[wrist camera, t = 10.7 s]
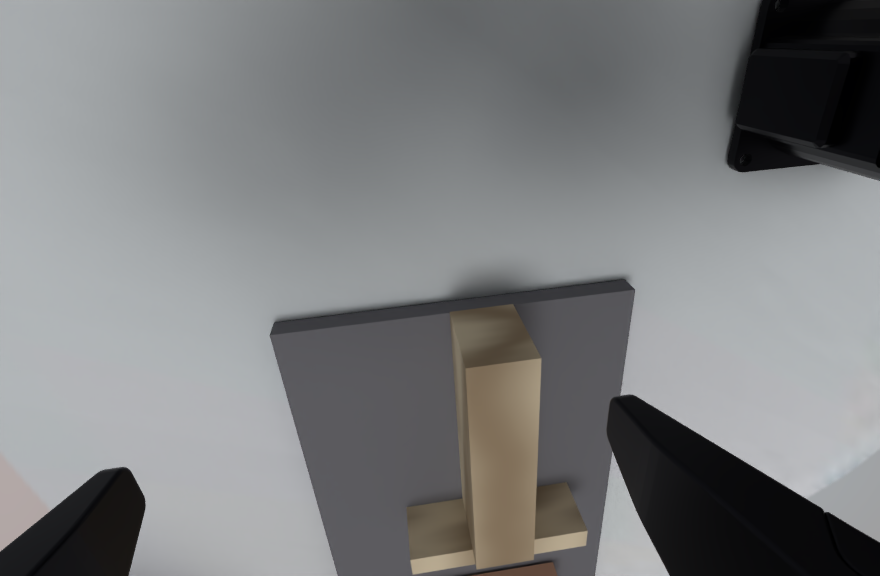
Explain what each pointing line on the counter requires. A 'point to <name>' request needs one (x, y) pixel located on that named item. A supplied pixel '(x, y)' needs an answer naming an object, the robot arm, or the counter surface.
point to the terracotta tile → (526, 571)
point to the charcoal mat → (445, 416)
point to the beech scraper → (495, 457)
